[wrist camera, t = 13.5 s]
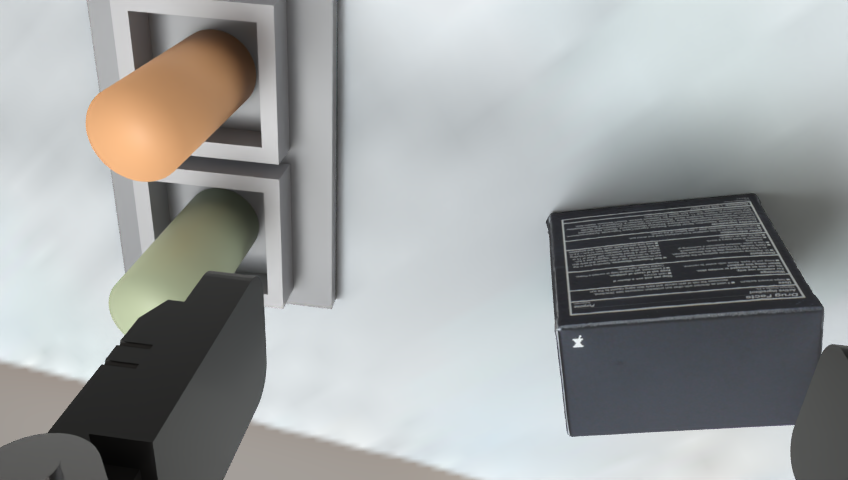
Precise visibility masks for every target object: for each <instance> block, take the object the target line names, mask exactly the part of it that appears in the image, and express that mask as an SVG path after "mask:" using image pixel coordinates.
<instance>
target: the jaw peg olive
mask: <svg viewBox="0 0 848 480" xmlns="http://www.w3.org/2000/svg"><path fill="white" fill-rule="evenodd" d="M258 232H259V222H258V218H257V215H256V213H255V211H254V209H253V208H252V206H251V205H250V204H249V203H248V202H247V201H246V200H245V199H244V198H243V197H242V196H240V195H239V194H237V193H235V192H233V191H230V190H227V189H222V188H211V189H206V190H204V191H201V192H200V193H198V194H197V195H195V197H194V198H193V199H192V200H191V201H190V202H189V203H188V204H187V205H186V206H185V208H184V209H183V210H182V211H181V212H180V213H179V214H178V215H177V216H176V218H175V219H174V220H173V221H172V222H171V223H170V224H169V225H168V227H167V228H166V229H165V230H164V231H163V232H162V233H161V234H160V235H159V237H158V238H157V239H156V240H155V241H154V242H153V243H152V244H151V245H150V247H149V248H148V249H147V250H146V251H145V252H144V253H143V254H142V256H141V257H140V258H139V259H138V260H137V261H136V262H135V263H134V264H133V266H132V267H131V268H130V269H129V270H128V271H127V272H126V273H125V274H124V276H123V277H122V278H121V279H120V280H119V281H118V282H117V283H116V284H115V286H114V287H113V289H112V291H111V293H110V296H109V310H110V314H111V316H112V319H113V320H114V322H115V324H116V325H117V327H118V328H119V329H120V330H121V332H122V333H123V334H124V335H125V334H126V333H127V332H128V330H129V329H130V328H131V327H132V325H133V324H134V323H135V322H136V320H137V319H138V318H139V317H141V316H142V315H144V314H146V313H147V312H149V311H150V310H152V309H154V308H155V307H157V306H159V305H160V304H162V303H163V302H165V301H167V300H175V301H183V302H184V301H185V300H186V299H187V297H188V296H189V294H190V293H191V292H192V290H193V289H194V288H195V286H196V285H197V283H198V282H199V281H200V279H201V278H202V276H203V275H204V274H205V273H206V272H207V271H217V272H226V273H235V271H236V270H237V268H238V267H239V265H240V263H241V262H242V260H243V259H244V257H245V256H246V254H247V253H248V251H249V250H250V248H251V247H252V245H253V244H254V242H255V240H256V239H257V236H258Z"/></svg>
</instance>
